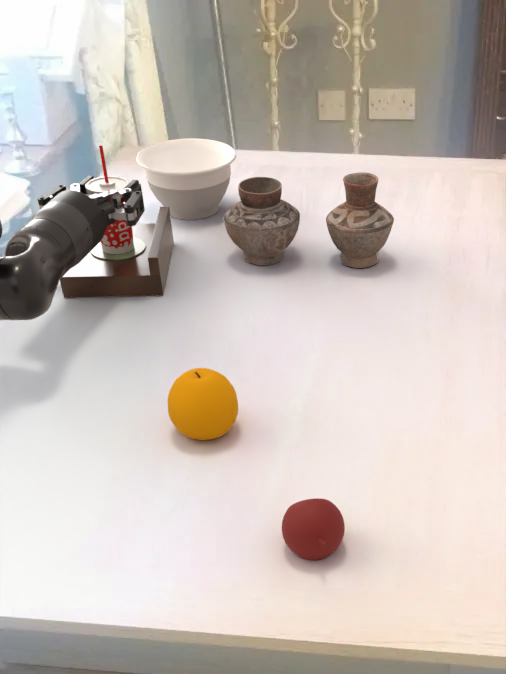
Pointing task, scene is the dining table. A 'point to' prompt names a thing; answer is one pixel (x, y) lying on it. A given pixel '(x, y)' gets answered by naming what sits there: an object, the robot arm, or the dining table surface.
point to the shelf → (126, 265)
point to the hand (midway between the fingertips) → (114, 185)
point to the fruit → (313, 528)
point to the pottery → (283, 221)
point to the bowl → (188, 175)
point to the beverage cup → (118, 233)
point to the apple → (202, 404)
